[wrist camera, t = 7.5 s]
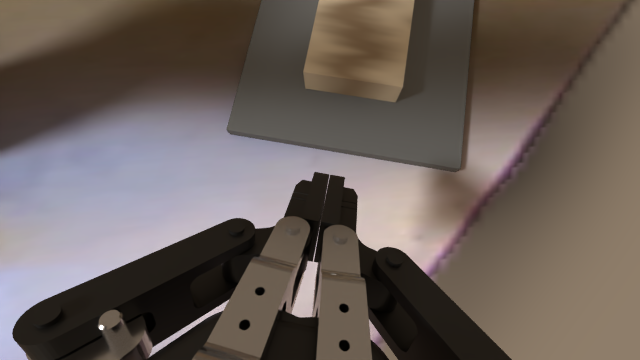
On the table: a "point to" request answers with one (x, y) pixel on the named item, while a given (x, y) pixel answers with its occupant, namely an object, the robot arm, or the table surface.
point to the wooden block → (359, 48)
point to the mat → (351, 111)
